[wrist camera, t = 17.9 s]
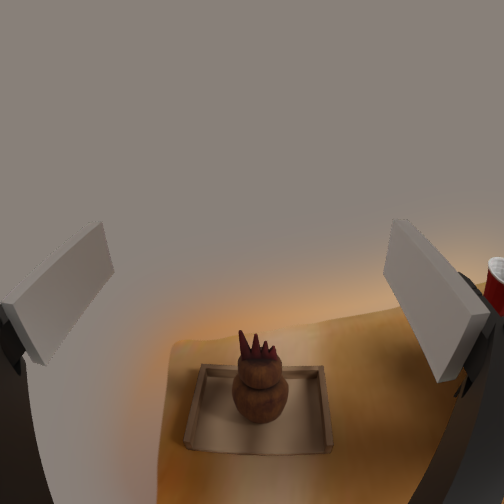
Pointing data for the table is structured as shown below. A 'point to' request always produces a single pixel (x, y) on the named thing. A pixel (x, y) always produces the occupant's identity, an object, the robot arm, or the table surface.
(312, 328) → the table surface
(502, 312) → the plastic cup
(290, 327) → the table surface
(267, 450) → the tray
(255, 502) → the table surface
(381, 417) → the table surface
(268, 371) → the wooden figurine
